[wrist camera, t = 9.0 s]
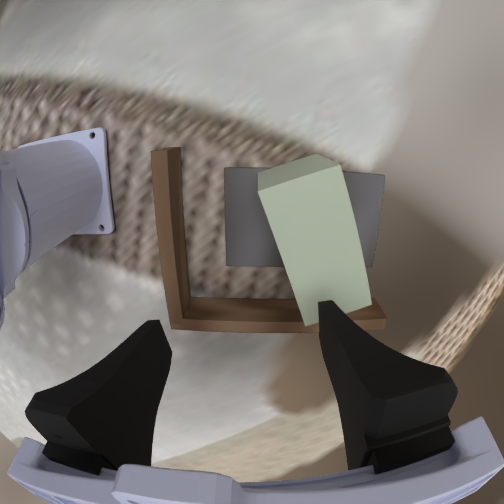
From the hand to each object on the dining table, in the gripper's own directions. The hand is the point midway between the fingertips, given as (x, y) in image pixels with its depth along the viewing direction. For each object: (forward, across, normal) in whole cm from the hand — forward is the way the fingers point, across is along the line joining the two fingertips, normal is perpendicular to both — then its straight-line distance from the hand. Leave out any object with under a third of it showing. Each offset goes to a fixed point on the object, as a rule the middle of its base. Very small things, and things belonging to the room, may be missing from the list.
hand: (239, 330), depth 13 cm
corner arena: (+9, -3, -1) cm, 10 cm away
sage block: (+9, -4, -2) cm, 10 cm away
